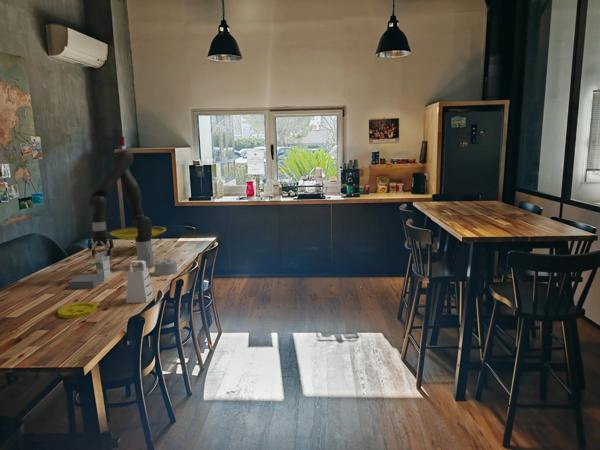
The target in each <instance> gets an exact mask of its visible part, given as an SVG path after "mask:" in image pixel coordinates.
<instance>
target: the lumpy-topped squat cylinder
mask: <svg viewBox="0 0 600 450" xmlns="http://www.w3.org/2000/svg"><path fill="white" fill-rule="evenodd" d="M153 268H154V276H157V277H163V276H162V275H166V276H172V275H175V274H177V273H178V263H177V260H175V259H172V258H167V257H164V258H162V259H157V260H154V265H153ZM171 274H172V275H171Z"/></svg>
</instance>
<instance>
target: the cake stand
mask: <svg viewBox="0 0 600 450" xmlns="http://www.w3.org/2000/svg"><path fill="white" fill-rule="evenodd" d="M166 231H167V228H166V227H163V226H152V236H151V239H152V238H156V237H158V236H160V235H161V234H163V233H165V232H166ZM109 235H110V236H113V237H115V238H117V239H120V240H129V241H130V240H133V241H134V242H136V236H137V235H138V230H137V229H136V228H135V227H134V226H132V227H131V226H130V227H125V228H119V229H114V230H112V231H110V232H109ZM130 253H132V254H137V248H136V247H134V248H133V249H131V250H130Z"/></svg>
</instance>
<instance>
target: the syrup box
mask: <svg viewBox="0 0 600 450" xmlns="http://www.w3.org/2000/svg"><path fill="white" fill-rule="evenodd" d="M94 262H95V271H96V274H104V279H106V278H109V277H111V267H110V265H111V264H110V256H107V252H98V253H97V252H96V254H95V256H94Z"/></svg>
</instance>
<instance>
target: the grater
mask: <svg viewBox="0 0 600 450" xmlns="http://www.w3.org/2000/svg"><path fill="white" fill-rule="evenodd" d="M138 262H142V263H143V268H138V267H133V265H132V264H133V263H138ZM128 267H129V268H128V271H127V279H126V280H127V282H126V297H125V298H126V300H125V302H126V303H127V304H128V303H130V304H131V303H135V304H137V303H145V304H146V303H148V302H149V301H150V300H151V299H152V298H153V297H154V292H153V291H154V290H153V286H152V281H151V277H150V273H149V268H146V262H145V261H144V260H137V259H136V260H135V259H134V260H133V259H132V260H131V261H130V262H129V263H128Z"/></svg>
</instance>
